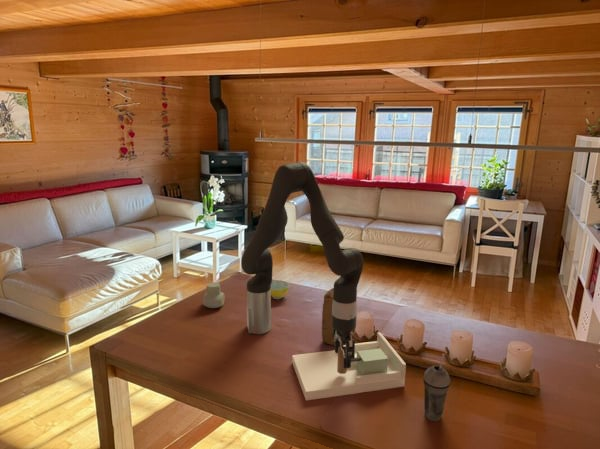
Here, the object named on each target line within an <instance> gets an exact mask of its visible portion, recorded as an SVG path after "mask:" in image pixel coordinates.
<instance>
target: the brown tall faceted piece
mask: <svg viewBox="0 0 600 449" xmlns="http://www.w3.org/2000/svg"><path fill="white" fill-rule="evenodd" d="M333 288H334V287H332V288H331V289H329V290H328V291H327V292H326V293H325V294H324V295H323V303H322V313H321V338H322V341H323V343H325V344H327V345H331V346H335V341H334V338H335V337H333V336H332V335H333V327H332V303H333Z"/></svg>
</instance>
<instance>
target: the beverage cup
mask: <svg viewBox="0 0 600 449" xmlns="http://www.w3.org/2000/svg"><path fill="white" fill-rule="evenodd" d="M444 358H445V353H444V352H442V355H441V360H440V362H439V365H432V366H429V367H428V368H427V369H426V370H425V371H424V375H423V377H422V381H423V386H424V387H423V388H424V390H423V391H424V395H423V396H424V399H423V400H424V404H423V405H424V406H423V407H424V417H425V418H426V419H427V420H429V421H431V422H438V421H440V420H442V416H443V411H444V409H445V408H444V407H445V402H446V399H447V395H448V394H447V393H448V391H449V388H450V386H451V378H450V375H449V373H448V371H447V370H446V369H445V368H444V367H443V366H442V365H443V361H444Z"/></svg>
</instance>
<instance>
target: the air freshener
mask: <svg viewBox="0 0 600 449" xmlns="http://www.w3.org/2000/svg"><path fill="white" fill-rule="evenodd" d="M225 295H226V294H225V293H224V292H222V291H221V284H220V283H219V282H214V281H213V282H210V283H207V285H206V292H205V294H204V295H203V299H202V305H203V306H204V307H206V308H208V309H217V308H220V307H222V306H224V303H225V300H226V299H225V298H226V296H225Z"/></svg>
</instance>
